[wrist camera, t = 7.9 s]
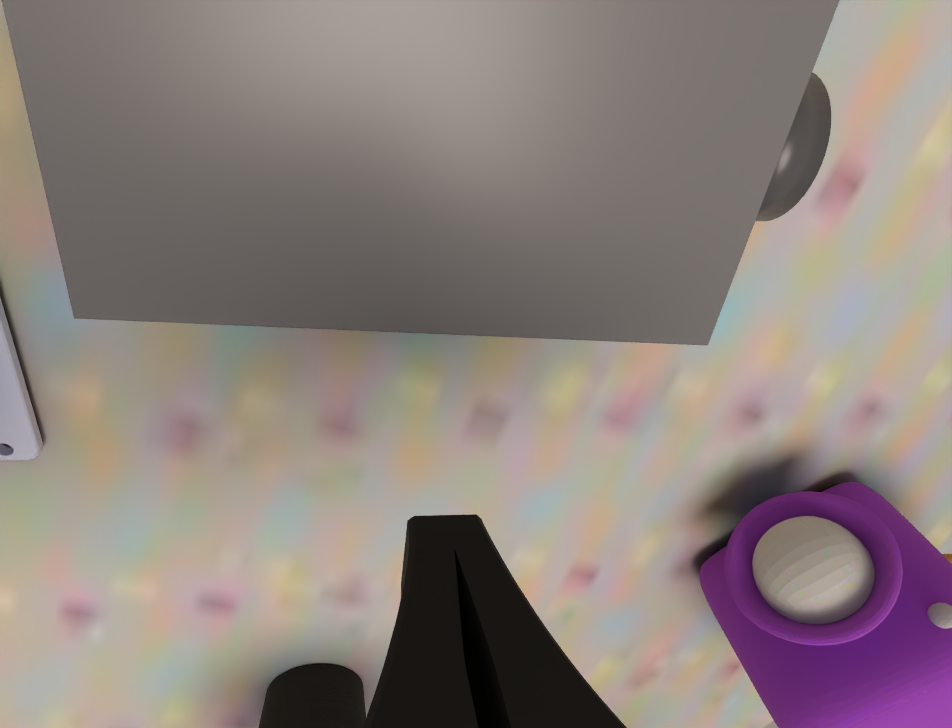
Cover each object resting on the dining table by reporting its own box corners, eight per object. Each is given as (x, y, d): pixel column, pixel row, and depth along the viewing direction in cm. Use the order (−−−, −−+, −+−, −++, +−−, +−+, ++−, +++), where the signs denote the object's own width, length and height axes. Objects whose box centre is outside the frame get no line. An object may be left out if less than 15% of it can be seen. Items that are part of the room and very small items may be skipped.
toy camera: (805, 408, 26) (1014, 607, 18) (926, 530, 32) (1121, 720, 24) (619, 554, 29) (722, 781, 21) (762, 639, 36) (885, 840, 27)
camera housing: (140, 239, 18) (74, 318, 14) (71, -214, 13) (-69, -308, 9) (680, 276, 22) (757, 347, 17) (794, -65, 16) (942, -81, 12)
